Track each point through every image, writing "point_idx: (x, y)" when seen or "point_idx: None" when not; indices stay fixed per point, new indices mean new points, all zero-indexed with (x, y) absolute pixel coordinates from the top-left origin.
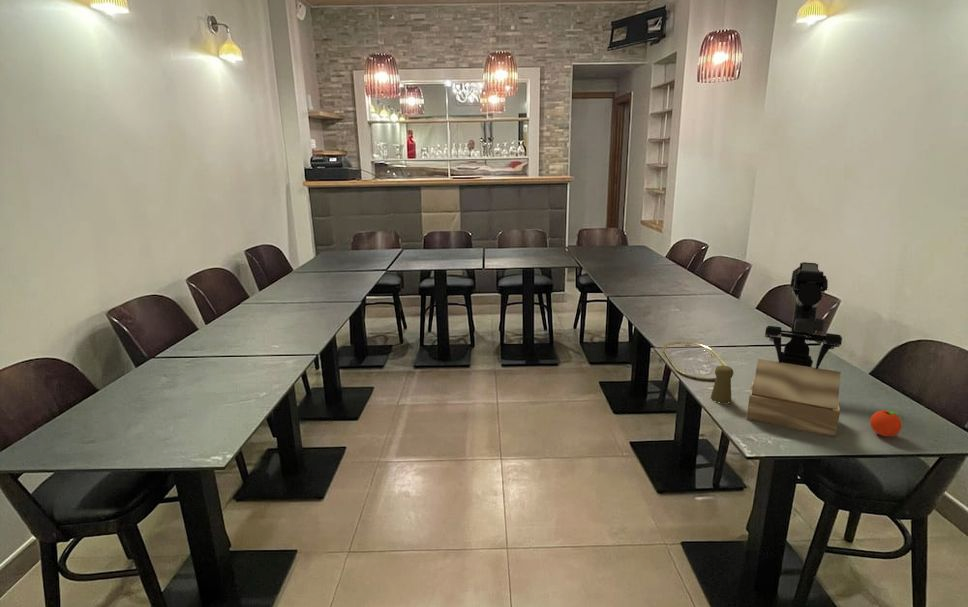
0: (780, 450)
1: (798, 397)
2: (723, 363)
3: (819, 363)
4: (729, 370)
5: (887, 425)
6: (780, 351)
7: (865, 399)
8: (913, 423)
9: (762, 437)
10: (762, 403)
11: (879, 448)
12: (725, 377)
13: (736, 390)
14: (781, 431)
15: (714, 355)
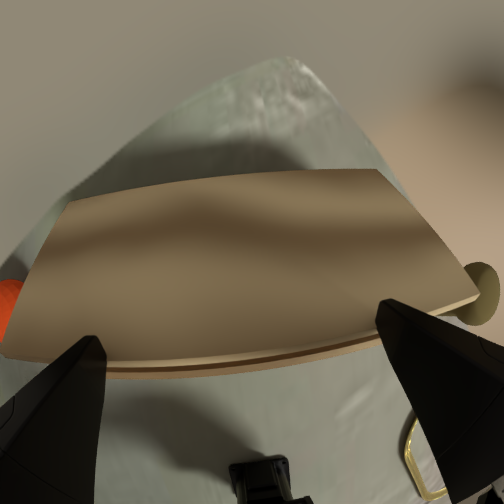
0: (229, 79)
1: (203, 189)
2: (412, 472)
3: (60, 357)
4: (478, 282)
5: (3, 281)
6: (455, 343)
7: (101, 476)
8: (14, 393)
9: (278, 114)
10: None
11: (36, 226)
12: (465, 266)
13: (389, 374)
14: (240, 171)
15: (421, 488)
